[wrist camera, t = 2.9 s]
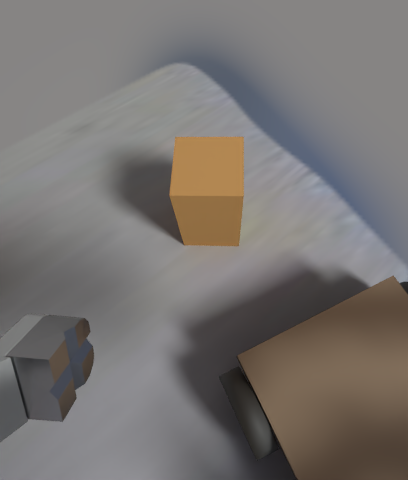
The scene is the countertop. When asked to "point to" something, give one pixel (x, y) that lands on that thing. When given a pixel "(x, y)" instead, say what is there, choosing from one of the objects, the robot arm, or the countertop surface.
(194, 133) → the countertop surface
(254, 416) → the trolley
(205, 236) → the block
